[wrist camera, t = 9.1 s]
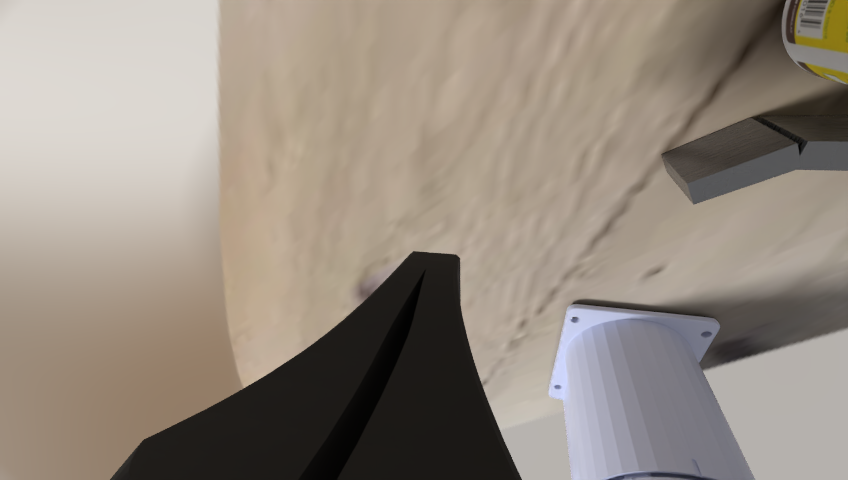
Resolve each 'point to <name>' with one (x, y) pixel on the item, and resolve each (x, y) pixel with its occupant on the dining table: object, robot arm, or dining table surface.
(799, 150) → the stop cradle
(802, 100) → the dining table surface
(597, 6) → the dining table surface
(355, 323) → the robot arm
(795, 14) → the supplement bottle
